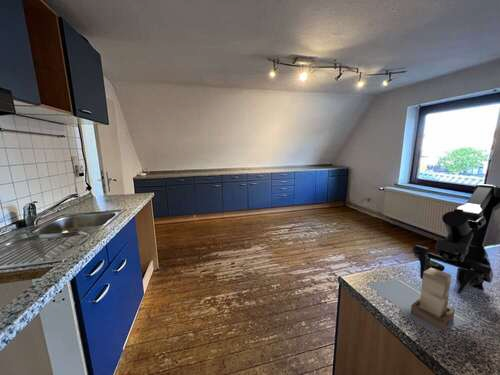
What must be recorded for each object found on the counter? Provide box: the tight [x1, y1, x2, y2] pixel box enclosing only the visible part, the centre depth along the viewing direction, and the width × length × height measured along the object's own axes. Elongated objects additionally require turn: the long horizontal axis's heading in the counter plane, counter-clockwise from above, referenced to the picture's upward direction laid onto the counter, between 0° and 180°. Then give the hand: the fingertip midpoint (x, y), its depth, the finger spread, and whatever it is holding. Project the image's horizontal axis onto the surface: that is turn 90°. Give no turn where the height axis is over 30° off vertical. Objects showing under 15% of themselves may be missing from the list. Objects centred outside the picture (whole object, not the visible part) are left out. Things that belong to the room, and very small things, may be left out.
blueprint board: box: [367, 277, 475, 334], centre depth 75 cm, size 16×24×1 cm, turn 14°
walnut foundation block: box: [411, 299, 455, 331], centre depth 68 cm, size 8×8×3 cm
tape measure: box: [427, 259, 445, 272], centre depth 96 cm, size 7×7×4 cm
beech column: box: [419, 268, 452, 317], centre depth 67 cm, size 5×5×12 cm
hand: (439, 285), depth 68 cm, fingers open, 9 cm apart
